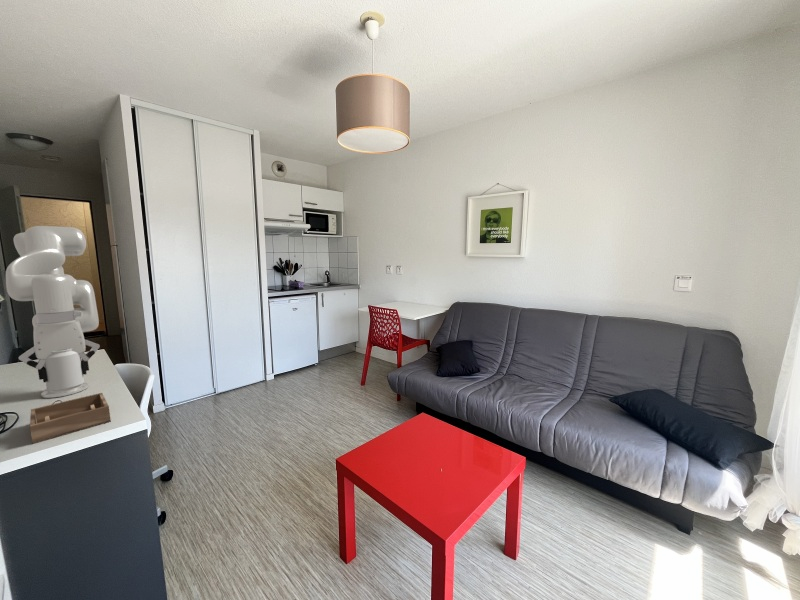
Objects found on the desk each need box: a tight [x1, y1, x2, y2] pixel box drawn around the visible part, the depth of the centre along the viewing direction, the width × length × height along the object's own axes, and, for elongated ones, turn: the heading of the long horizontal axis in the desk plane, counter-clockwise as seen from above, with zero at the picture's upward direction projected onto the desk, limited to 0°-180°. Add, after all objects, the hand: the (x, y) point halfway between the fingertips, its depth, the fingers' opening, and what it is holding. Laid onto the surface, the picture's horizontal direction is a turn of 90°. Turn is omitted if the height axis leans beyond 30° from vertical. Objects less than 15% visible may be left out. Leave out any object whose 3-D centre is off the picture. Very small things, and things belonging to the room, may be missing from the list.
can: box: [44, 349, 85, 392], centre depth 95 cm, size 8×8×12 cm
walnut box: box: [29, 392, 112, 445], centre depth 99 cm, size 16×16×5 cm
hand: (65, 376), depth 96 cm, fingers closed on can, 7 cm apart
